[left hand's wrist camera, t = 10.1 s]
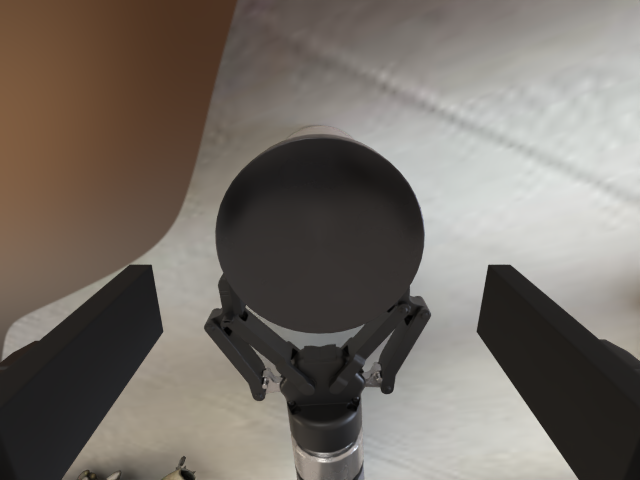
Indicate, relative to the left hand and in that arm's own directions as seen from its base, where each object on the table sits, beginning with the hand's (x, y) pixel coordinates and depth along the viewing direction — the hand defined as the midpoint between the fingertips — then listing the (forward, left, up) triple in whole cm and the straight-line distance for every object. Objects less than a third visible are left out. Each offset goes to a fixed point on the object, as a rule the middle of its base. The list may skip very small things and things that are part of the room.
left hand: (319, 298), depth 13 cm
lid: (0, 0, -6) cm, 6 cm away
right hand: (+4, 0, -18) cm, 18 cm away
